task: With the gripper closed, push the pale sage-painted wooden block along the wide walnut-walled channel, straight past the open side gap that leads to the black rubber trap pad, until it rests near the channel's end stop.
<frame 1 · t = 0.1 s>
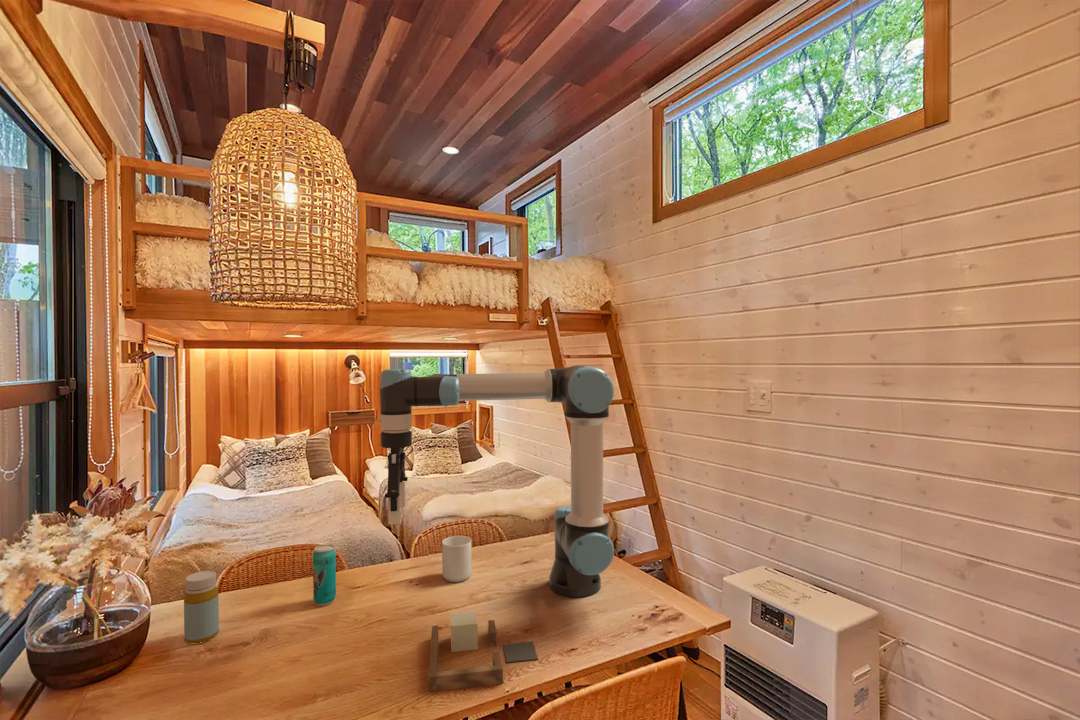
hand: (397, 515, 130), 28 cm above the table, fingers open, 13 cm apart
block: (463, 643, 122), on the table
mug: (457, 575, 160), on the table
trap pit: (520, 652, 118), on the table
bottle: (202, 638, 125), on the table
channel: (464, 659, 116), on the table
beverage can: (324, 602, 143), on the table
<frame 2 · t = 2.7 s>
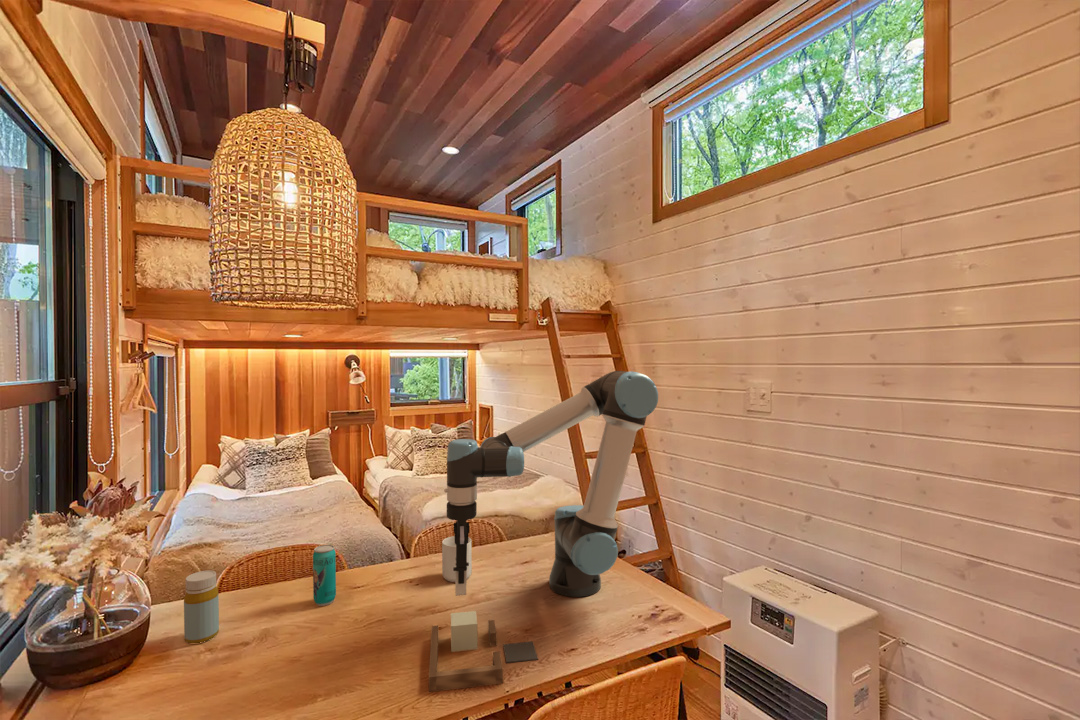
hand: (460, 593, 131), 7 cm above the table, fingers closed
nothing on the table moved.
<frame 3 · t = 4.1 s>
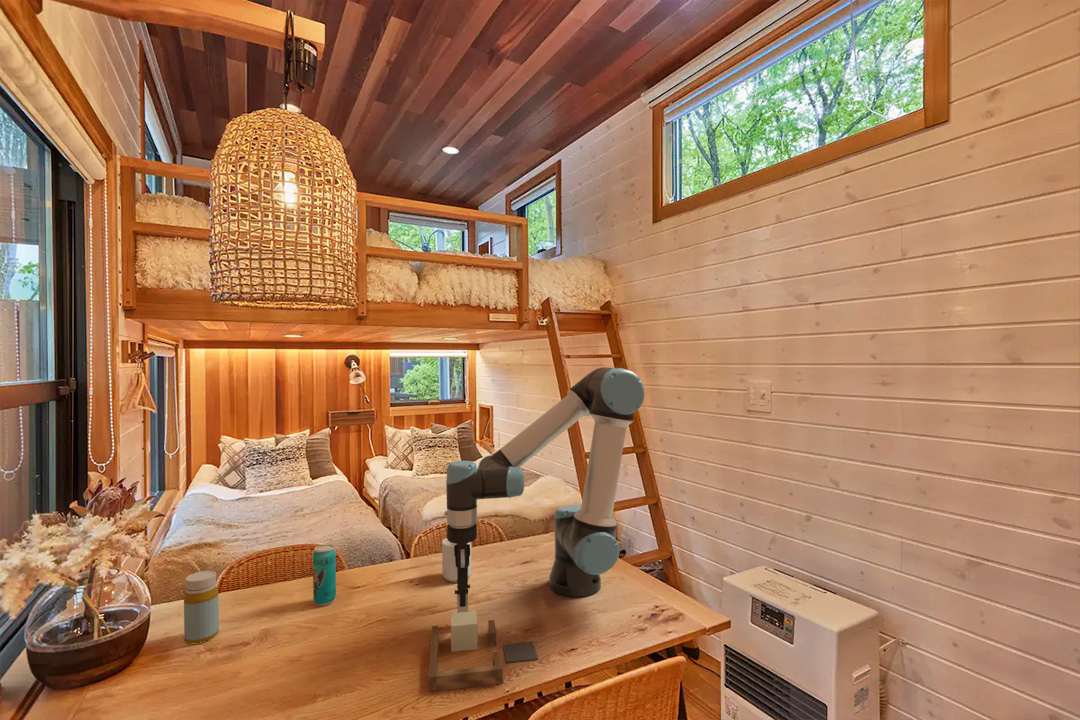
hand: (462, 616, 130), 2 cm above the table, fingers closed
nothing on the table moved.
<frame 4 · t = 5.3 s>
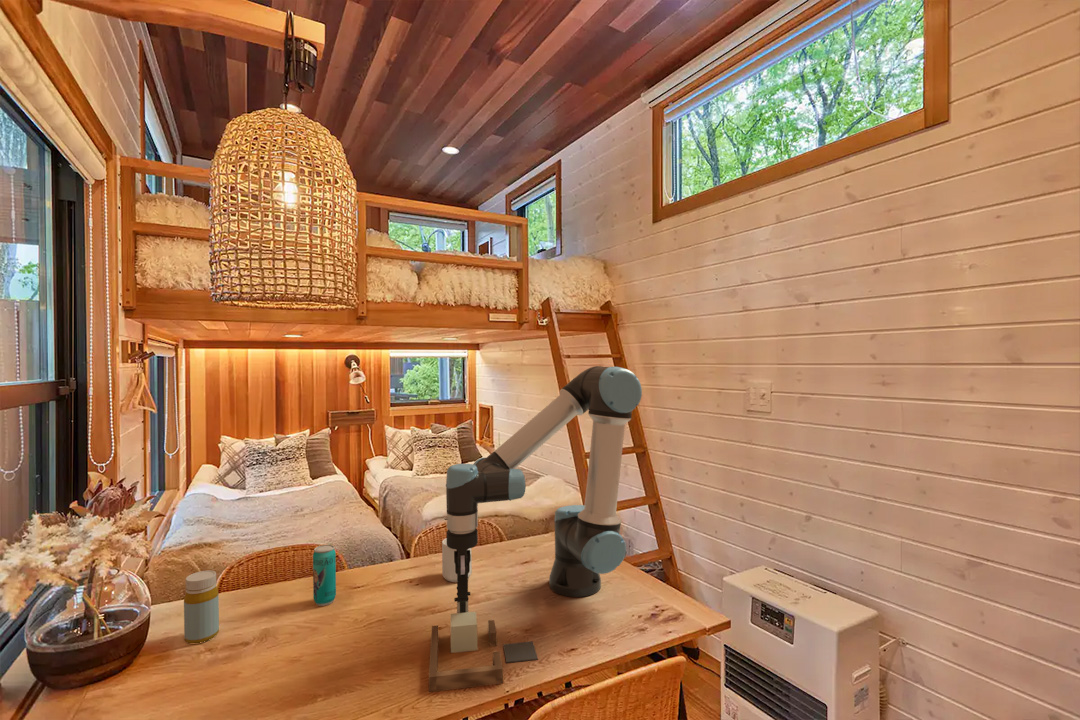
hand: (462, 624, 126), 2 cm above the table, fingers closed
block: (463, 644, 121), on the table, touching gripper
everything else where it was.
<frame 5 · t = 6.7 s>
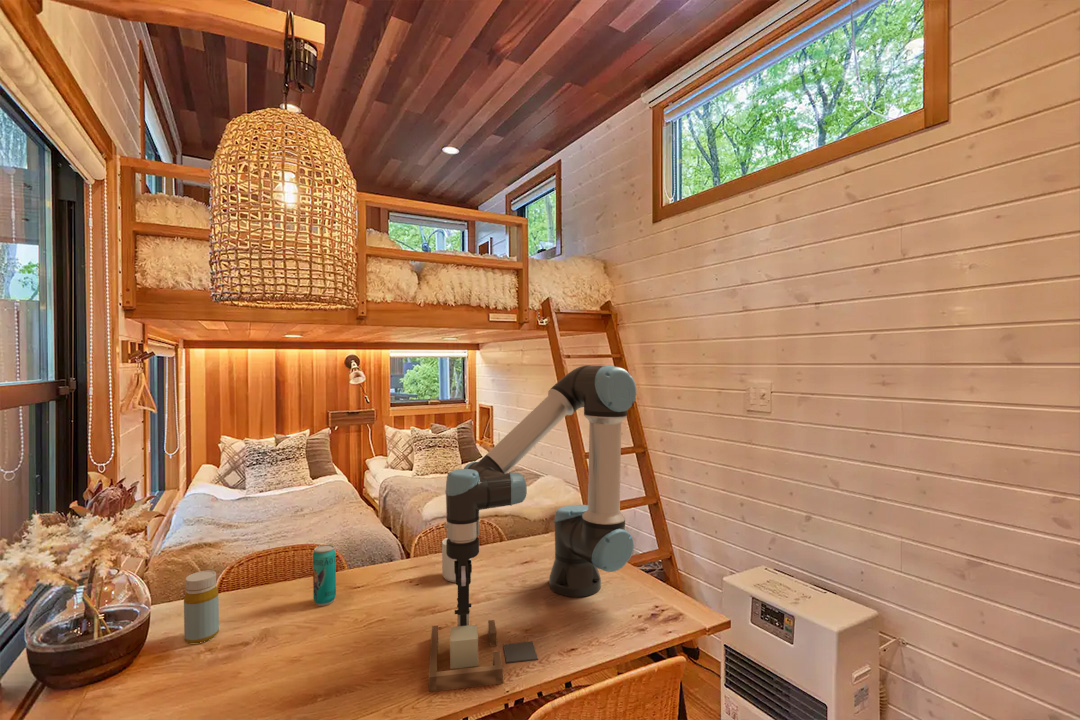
hand: (463, 638, 120), 2 cm above the table, fingers closed
block: (464, 659, 115), on the table, touching gripper
everything else where it was.
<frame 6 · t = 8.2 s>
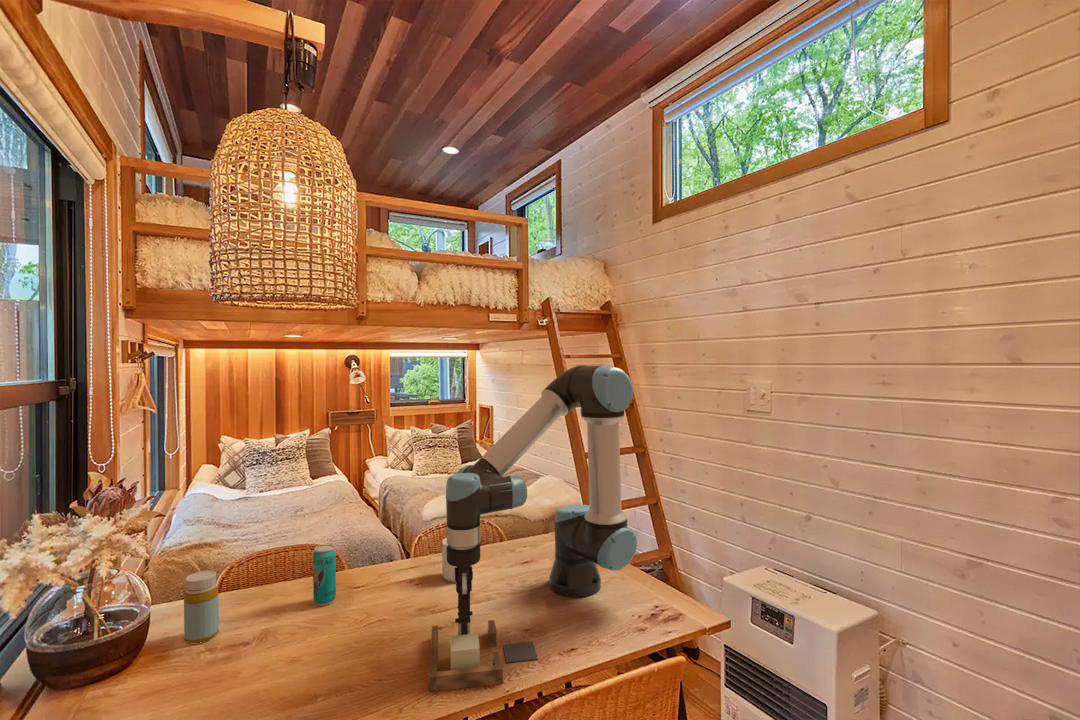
hand: (464, 647, 117), 2 cm above the table, fingers closed
block: (464, 669, 112), on the table, touching gripper
everything else where it was.
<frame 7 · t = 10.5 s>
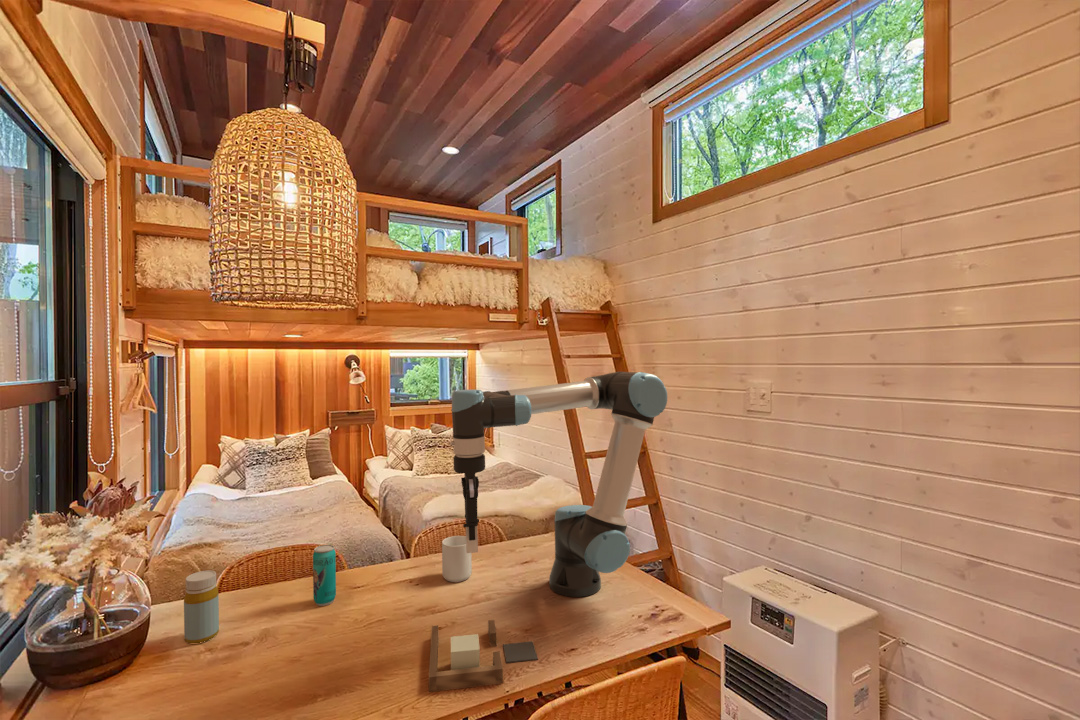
hand: (472, 551, 125), 21 cm above the table, fingers closed
block: (465, 670, 112), on the table
everything else where it was.
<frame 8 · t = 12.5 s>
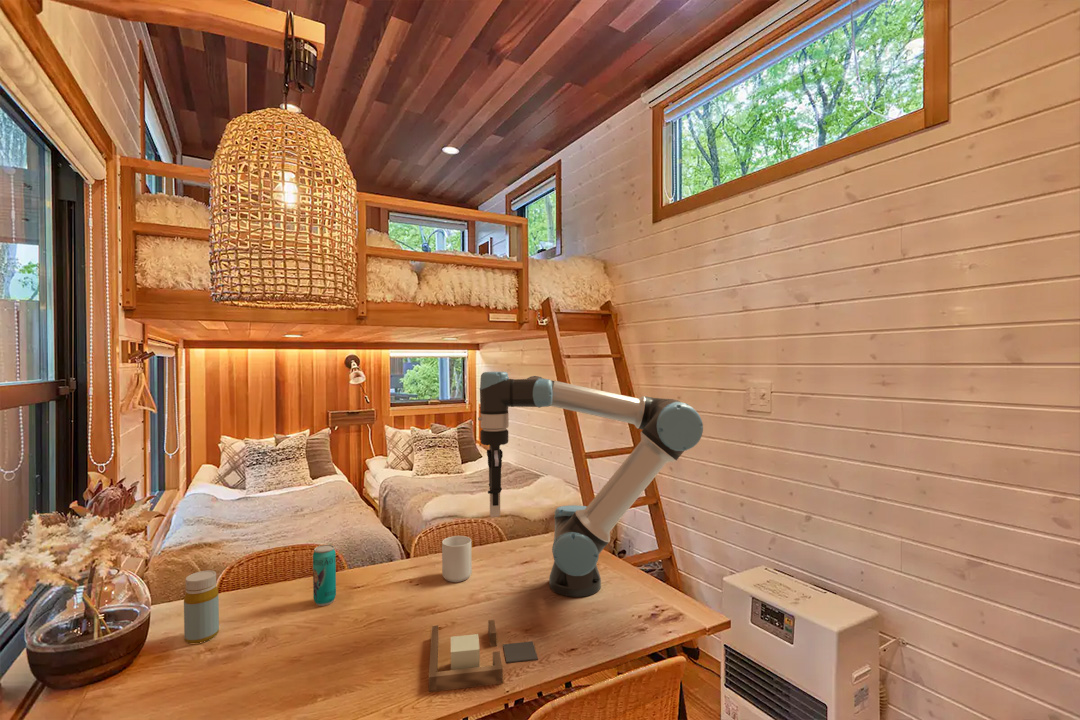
hand: (495, 516, 139), 24 cm above the table, fingers closed
nothing on the table moved.
at the end: block inside the target area (0.3 cm from its centre), on the table; block tilted 0° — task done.
